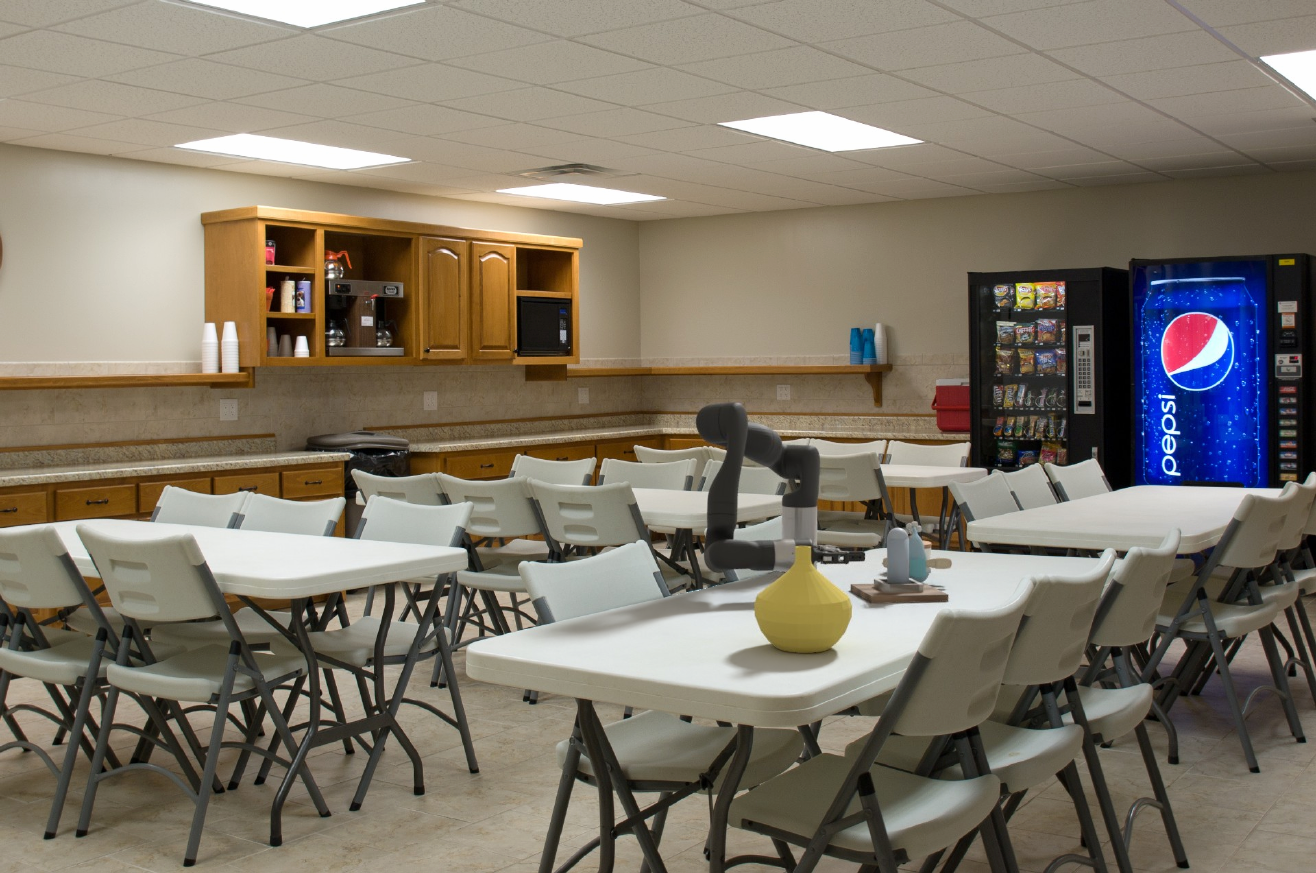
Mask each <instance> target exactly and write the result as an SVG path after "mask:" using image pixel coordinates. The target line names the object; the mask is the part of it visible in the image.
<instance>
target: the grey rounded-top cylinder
mask: <svg viewBox="0 0 1316 873" xmlns="http://www.w3.org/2000/svg"><path fill="white" fill-rule="evenodd" d="M886 558H887V568H886V579H887V584H909V535H908V532H907V531H906V530H905V529H904V528H901V527H894V528H892V529H890V531H889V532H888V534H887V537H886Z"/></svg>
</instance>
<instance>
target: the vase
mask: <svg viewBox="0 0 1316 873" xmlns="http://www.w3.org/2000/svg"><path fill="white" fill-rule="evenodd" d="M753 604H754V617H755V620H756V622H757V624H758V627H759V630H760V632H761V633H762V634H763V636H764V637H765V639H766V640H767V641H768V642H770V643H771V645H773V646H774V647H775V648H777V649H778V650H780V651H783V652H787V653H788V652H789V653H795V652H796V654H814V652H816V653H821V652H825V651H828V650H830V649H831V648H833V646H835V645H836V644H837V643H838V642H839V641H840V640H841V638H842V637H843V636H844V635H845V634H846V632H847V629H848V626H849V624H850V622H851V619H852V617H853V616H852V615H853V614H852V613H853V604H852V601H851V599H850V596H849V595H848V594H847V593H846V592H844V591H843V590H842V589H840V588H839V587H838V586H837V585H835V584H834V583H833V582H831V581H830V580H829V578H827V577H825V575H823V574H822V573H821V572H820V571H819V570H818V569H817V570H816V568H815V567H814V566H813V564H812V562H811V547H810V546H796V547H795V563H794V564H793V566H792V567H791V568H790V569H789V570H788V571H787V572H784V573H783V574H782V575H781V576H780V577H778V578H777V579H776V580H775V581H773V582H772V583H771V584H769V585H768V586H766V587H765V588H764V589H763V590H762V591H760V592H759V593H758V594H757V595H756V598H755V600H754V603H753Z"/></svg>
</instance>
